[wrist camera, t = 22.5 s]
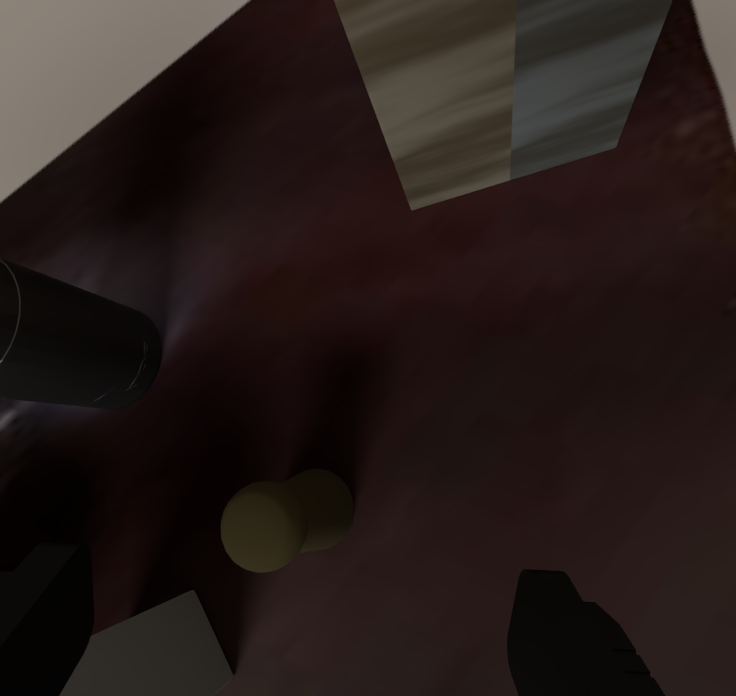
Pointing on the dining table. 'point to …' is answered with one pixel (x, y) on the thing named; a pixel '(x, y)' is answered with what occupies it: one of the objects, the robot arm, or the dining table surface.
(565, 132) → the stepped stand
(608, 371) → the dining table surface
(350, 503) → the olive cylinder
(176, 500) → the dining table surface
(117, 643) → the milk carton
